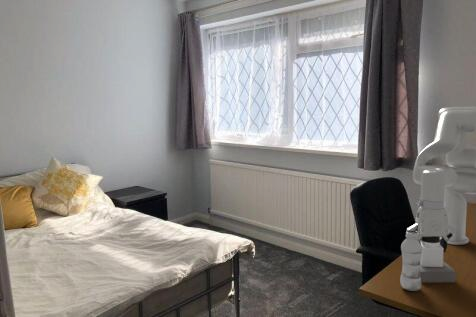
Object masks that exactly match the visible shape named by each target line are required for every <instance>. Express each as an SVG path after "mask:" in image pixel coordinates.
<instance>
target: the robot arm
mask: <svg viewBox="0 0 476 317" xmlns="http://www.w3.org/2000/svg"><path fill="white" fill-rule="evenodd" d="M437 116H438V122H437V126H436V130H435V134H434V138H433V141H432V142H431V143H429V144H428V145H426V146H425V147H424V148H423V149H422V150H421V151H420V152H419V153H418V154H417V157H416V159H415V162H414V166H413V170H412V180H413V181H414V183H415V184H417V185H420V186H421V187H420V199H419V200H418V201H416V205H417V206H418V209H417V212H416V217H415V223H414V224H413V225H411V226H409V227H407V228H406V231H408V230H413V231H417V232H418V241H419V242H420V241H421V238H422V237H432V236H437V237H440V245H441V246H442V247H443V248H444V253H446V252H447V248H448V247H447V246H448V245H456V246H458V245H461V246H462V245H463V246H464V245H467V244H468V243H469V242H470V239H469V238H468V237H467V236H466V228H467V227H466V224H467V207H468V203H467V200H466V198H465V197H464V196H463V194H469V195H476V146H470V142H469V141H470V134H469V133H476V106H450V107H448V106H447V107H442V108H441V109H440V110H439V111H438V115H437ZM443 155H445V163H446V165H447V166H443V165H442V166H441V165H430V164H426V163H428V162H429V161H430V160H431V159H434V158H437V157H440V156H443ZM455 168H456V169H466V170H467V169H468V170H469V169H470V170H474V171H466V170H455ZM420 244H421V242H420Z"/></svg>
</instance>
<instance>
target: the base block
mask: <svg viewBox="0 0 476 317" xmlns="http://www.w3.org/2000/svg"><path fill="white" fill-rule="evenodd" d="M456 274H457V273H456V270H455V269H453V267H452V266H450V265H449V264H448V263H447V262H445V261H444V260H443V267H422V266H421V264H420V277H421V283H456Z"/></svg>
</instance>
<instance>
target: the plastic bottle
mask: <svg viewBox="0 0 476 317" xmlns="http://www.w3.org/2000/svg"><path fill="white" fill-rule="evenodd" d="M405 237H406V238H405V239H404V240H403V241H402V243H401V245H400V251H401V257H402V258H401V259H402V267H401V274H400V278H399V281H400V285H401V287H402V288H403V289H404V290H406V291H408V292H409V291H410V292H418V291H419V290H420V289H421V287H422V283H423V282H421V277H420V259H421V254H422V246H421V244H420V242H419V241H418V232H417V231H415V230H414V231H413V230H408V231H407V230H406V232H405Z"/></svg>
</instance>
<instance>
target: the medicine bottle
mask: <svg viewBox="0 0 476 317" xmlns="http://www.w3.org/2000/svg"><path fill="white" fill-rule="evenodd" d="M420 242H421V246H422V254H421V259H420V264H421V266H422V267H443V261H444V260H445V259H444V256H445V255H444V254H445V252H444V248H443V247H442V246H441V245H440V237H437V236H432V237H422V238H421V239H420Z"/></svg>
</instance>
